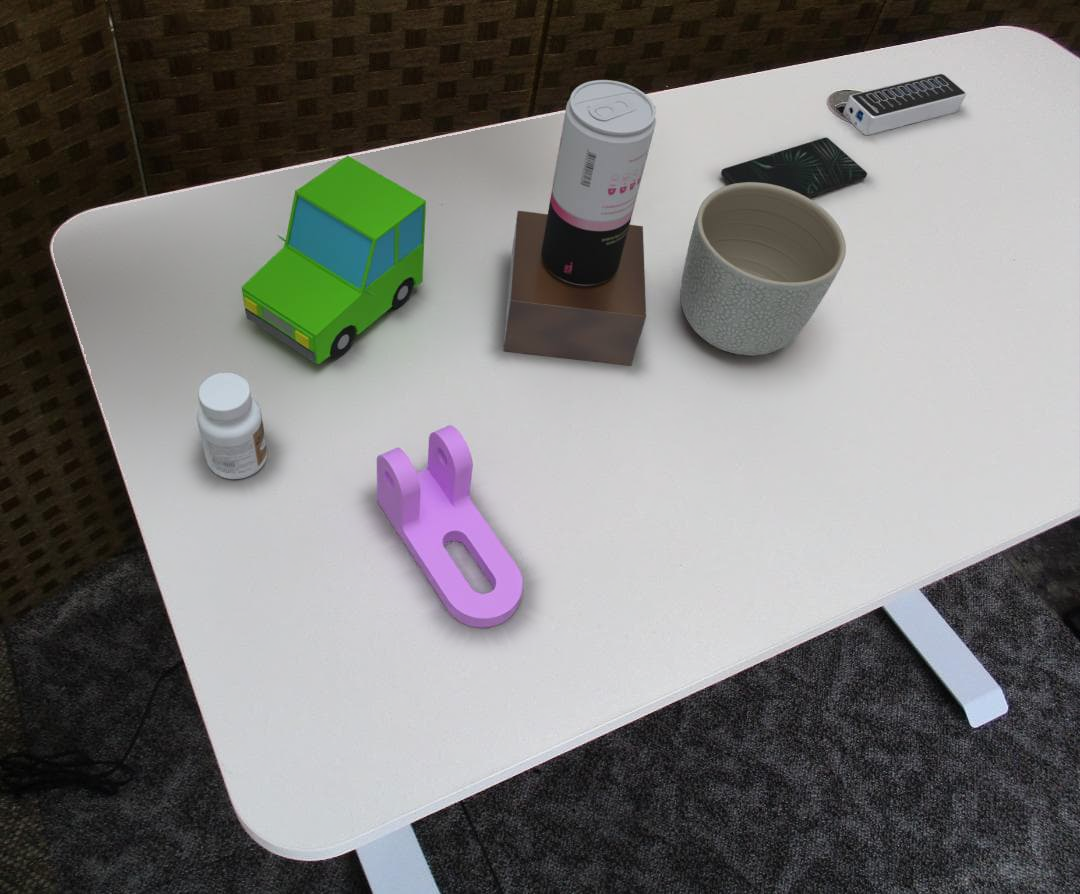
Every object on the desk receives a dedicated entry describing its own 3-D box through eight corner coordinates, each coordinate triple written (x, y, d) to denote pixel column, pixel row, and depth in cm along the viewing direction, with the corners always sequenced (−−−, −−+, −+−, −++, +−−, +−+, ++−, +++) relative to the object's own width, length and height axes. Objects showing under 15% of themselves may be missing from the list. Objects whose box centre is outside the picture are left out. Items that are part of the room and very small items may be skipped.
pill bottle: (277, 467, 74) (267, 402, 68) (219, 489, 72) (204, 424, 66) (254, 425, 76) (242, 358, 70) (197, 446, 74) (181, 379, 68)
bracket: (377, 501, 73) (376, 445, 68) (442, 471, 76) (447, 415, 70) (467, 641, 68) (475, 592, 62) (535, 604, 70) (548, 554, 64)
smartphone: (869, 173, 104) (762, 209, 98) (865, 181, 105) (759, 217, 98) (826, 135, 107) (720, 167, 101) (823, 143, 108) (717, 176, 102)
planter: (826, 328, 90) (874, 237, 82) (751, 399, 84) (793, 308, 76) (719, 256, 94) (753, 162, 86) (639, 318, 88) (667, 223, 80)
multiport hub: (959, 111, 115) (968, 94, 113) (865, 136, 110) (873, 118, 108) (934, 89, 117) (942, 72, 115) (840, 112, 112) (848, 94, 110)
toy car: (233, 323, 82) (217, 230, 74) (341, 242, 89) (338, 149, 81) (327, 385, 79) (321, 295, 71) (431, 297, 87) (436, 206, 79)
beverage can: (524, 250, 83) (549, 92, 71) (586, 225, 86) (619, 69, 74) (572, 299, 80) (605, 144, 68) (633, 272, 83) (676, 118, 71)
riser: (503, 351, 84) (510, 300, 79) (510, 261, 90) (517, 210, 86) (631, 365, 85) (646, 316, 80) (629, 276, 91) (643, 225, 87)
